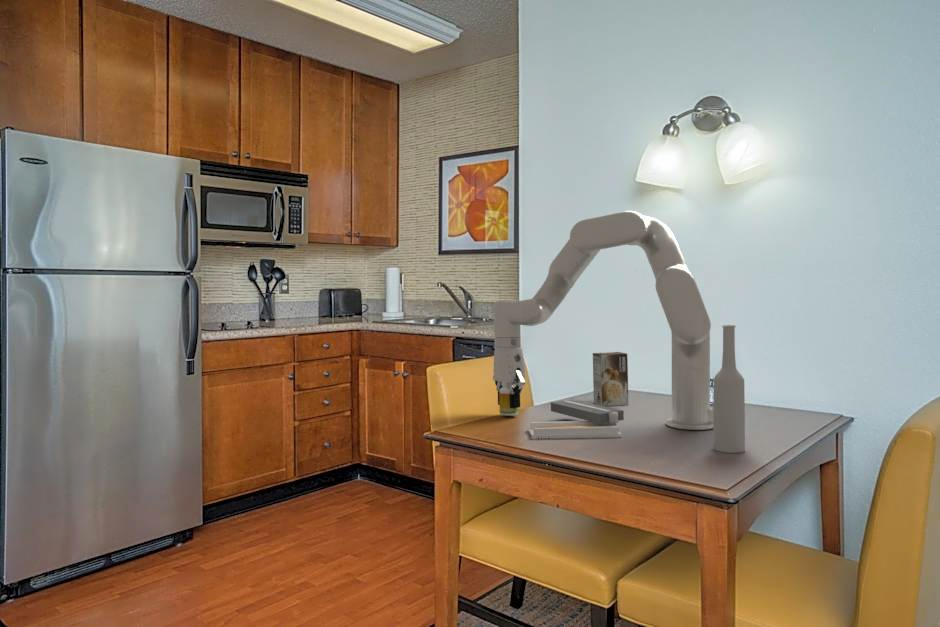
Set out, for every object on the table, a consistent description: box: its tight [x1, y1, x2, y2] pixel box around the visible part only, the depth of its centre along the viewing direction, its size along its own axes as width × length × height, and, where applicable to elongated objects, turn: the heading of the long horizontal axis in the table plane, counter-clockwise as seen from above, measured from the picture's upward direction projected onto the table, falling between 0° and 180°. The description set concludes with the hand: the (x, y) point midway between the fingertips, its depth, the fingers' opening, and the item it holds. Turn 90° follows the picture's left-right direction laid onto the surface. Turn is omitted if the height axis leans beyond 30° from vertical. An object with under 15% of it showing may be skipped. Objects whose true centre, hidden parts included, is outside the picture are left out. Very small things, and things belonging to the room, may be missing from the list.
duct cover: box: [550, 399, 625, 424], centre depth 173 cm, size 22×8×3 cm, turn 30°
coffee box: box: [592, 351, 629, 407], centre depth 203 cm, size 9×6×16 cm
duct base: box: [527, 420, 623, 440], centre depth 164 cm, size 22×9×2 cm, turn 90°
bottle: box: [712, 324, 746, 454], centre depth 146 cm, size 7×7×28 cm
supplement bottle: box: [498, 381, 519, 417], centre depth 187 cm, size 5×5×10 cm
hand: (509, 405), depth 187 cm, fingers closed on supplement bottle, 5 cm apart
